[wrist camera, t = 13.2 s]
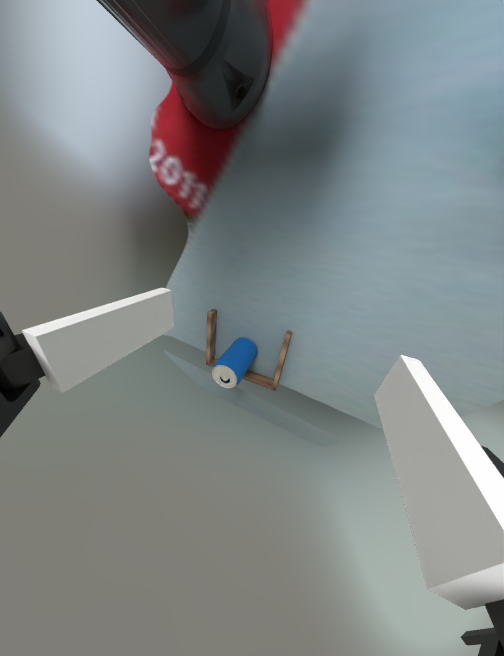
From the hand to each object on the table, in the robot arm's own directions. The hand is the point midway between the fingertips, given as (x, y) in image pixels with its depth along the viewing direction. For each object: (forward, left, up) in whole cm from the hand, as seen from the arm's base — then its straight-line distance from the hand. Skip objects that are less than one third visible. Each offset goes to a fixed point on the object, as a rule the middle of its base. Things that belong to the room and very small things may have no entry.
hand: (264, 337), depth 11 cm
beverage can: (+22, -10, -29) cm, 38 cm away
